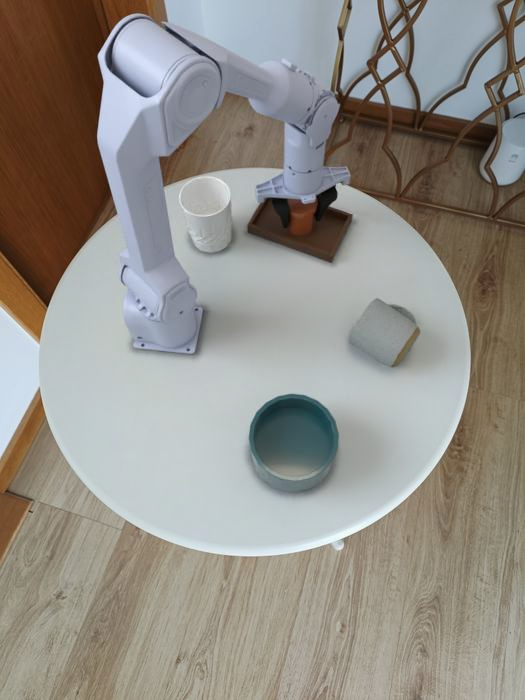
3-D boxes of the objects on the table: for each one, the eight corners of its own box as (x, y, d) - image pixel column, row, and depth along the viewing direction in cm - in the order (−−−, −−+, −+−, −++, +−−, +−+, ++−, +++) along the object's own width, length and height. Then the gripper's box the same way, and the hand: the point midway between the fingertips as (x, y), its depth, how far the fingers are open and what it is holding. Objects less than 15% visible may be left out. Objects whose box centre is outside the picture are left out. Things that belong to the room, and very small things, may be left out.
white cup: (240, 222, 91) (236, 180, 82) (228, 259, 88) (223, 220, 79) (196, 214, 92) (187, 172, 83) (182, 251, 89) (172, 211, 80)
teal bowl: (246, 487, 72) (243, 474, 65) (257, 408, 77) (255, 389, 70) (329, 497, 71) (335, 485, 64) (335, 417, 76) (341, 398, 69)
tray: (247, 232, 90) (246, 225, 88) (270, 194, 94) (270, 186, 92) (331, 263, 87) (332, 256, 85) (351, 222, 91) (353, 214, 89)
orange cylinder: (295, 242, 88) (296, 219, 83) (278, 221, 90) (278, 197, 85) (321, 229, 90) (324, 204, 84) (304, 208, 92) (306, 183, 86)
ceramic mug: (391, 378, 78) (403, 355, 71) (343, 349, 80) (350, 324, 73) (426, 327, 82) (440, 300, 75) (380, 300, 84) (389, 272, 77)
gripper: (261, 189, 74) (263, 248, 86) (361, 168, 75) (349, 229, 88) (249, 152, 77) (253, 214, 89) (345, 133, 78) (336, 197, 91)
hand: (300, 220), depth 89 cm, fingers closed on orange cylinder, 5 cm apart
